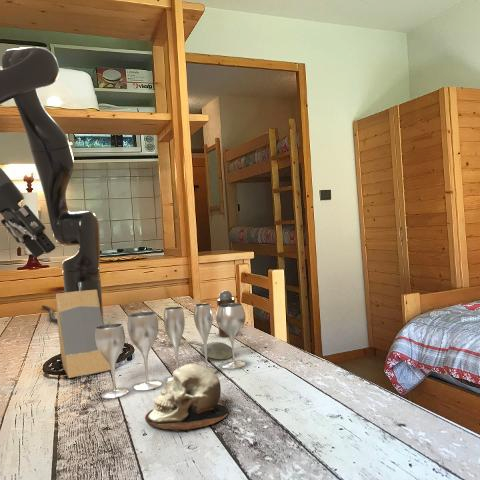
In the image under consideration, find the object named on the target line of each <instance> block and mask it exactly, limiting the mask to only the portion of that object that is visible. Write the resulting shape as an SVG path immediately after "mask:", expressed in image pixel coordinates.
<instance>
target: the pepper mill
mask: <svg viewBox="0 0 480 480" xmlns="http://www.w3.org/2000/svg"><path fill="white" fill-rule="evenodd" d="M228 303H236V298H235V297H233V294H232V292H231V291H229V290H226V289H225V290H222V291H220V293H219V294H218V299H216V308H217V309H218V306H219V305H222V304H228ZM217 309H216V310H217ZM218 335H219V337H222V338H227V337H228V338H229V336H228V335H227V334H226V333H225V332H224V331H223V330H222V329H220V328H219V327H218Z"/></svg>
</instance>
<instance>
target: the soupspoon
mask: <svg viewBox="0 0 480 480" xmlns="http://www.w3.org/2000/svg"><path fill="white" fill-rule="evenodd" d="M169 343H170V345H172V346H173V344H172V342H171V340H170V339H169ZM180 343H185V344H189V345H195V346H197V347H200V349H199V350H200V352H201V354H204V355H205V350H204V344H203V342H197V341H192V340H186V339H181V340H180ZM207 358H210V359H214V360H228V359H230V358H233V356H232V346H231V345H228V344H226V343H224V342H220V341H214V342H207Z"/></svg>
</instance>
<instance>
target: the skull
mask: <svg viewBox="0 0 480 480" xmlns="http://www.w3.org/2000/svg"><path fill="white" fill-rule="evenodd" d="M172 376H173V379H171V380H169V381H168V380H167V381H166V382H165V383H164V384H163V388H162V389H161V390H160V394H159V395H157V396H156V398H154V401H153V409H151V410H150V411H148V412H147V413H146V414H145V416H144V420H145V423H146V424H147V425H149V426H151V427H154V428H158V429H164V430H173V431H176V432H178V431H179V430H182V431H186V430H187V431H189V430H192V429H194V430H195V429H197V428H204V427H207V426H208V427H209V426H210V425H211V426H213V425H215V424H216V423H218V422H221V421H222V420H224V419H225V418H227V416H228V414H229V409H228V407H227V406H226V405H225V404H223V403H221V402H220V398H221V394H222V392H221V391H222V387H221V381H220V379H219V377H218V375H217V374H216V373H213V372H211V371H210V370H208V369H207V368H206V366H202V365H199V364H197V363H188V364H184V365H182V366H179V368H178V369H177V368H176V369H175V370H173V372H172Z"/></svg>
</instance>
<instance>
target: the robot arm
mask: <svg viewBox="0 0 480 480" xmlns="http://www.w3.org/2000/svg"><path fill="white" fill-rule="evenodd" d="M59 74H60V67H59V63H58V60H57V58H56V56H55V55H54V54H53V53H52V52H51V51H50V50H48V49H47V48H44V47H39V46H29V47H19V48H10V49H7V50H5V51H4V52H3V54H2V56H1V69H0V105H2V104H4V103H6V102H8V101H10V100H12V99H13V101H14V104H15V106H16V109H17V111H18V114H19V116H20V120H21V123H22V125H23V128H24V131H25V132H24V133H25V134H26V138H27V141H28V144H29V149H30V153H31V156H32V160H33V162H34V166H35V168H36V171H37V174H38V178H39V181H40V185H41V188H42V191H43V195H44V196H43V197H44V200H45V205H46V209H47V215H48V220H49V225H50V230H51V232H52V235H53V238H54V240H55V241H56V243H57V244H58V245H60V246H65V247H66V246H68V247H69V246H78V251H77V252H76V254H74V255H73V256H70V257H69V258H67V259H64V260H63V261H62V263H61V267H62V268H61V269H62V277H63V289H64V293H67V292H75V291H85V290H97V293H98V299H99V305H100V310H101V315H102V320H103V324H104V325H105V319H104V318H105V317H104V306H103V305H104V304H103V295H102V283H101V270H100V259H101V244H100V243H101V241H100V240H101V239H100V238H101V237H100V223H99V220H98V218H97V216H96V214H95V213H94V212H92V211H90V210H84V211H83V210H81V211H80V210H79V211H69V209H68V203H67V198H66V196H67V195H66V193H67V190H68V189H67V188H68V185H69V183H70V180H71V177H72V175H73V172H74V168H75V160H74V155H73V151H72V148H71V143H70V141H69V138H68V136H67V134H66V133H65V131H63V129H62V128H61V126H60V125H59V124H58V123H57V122H56V121H55V120H54V118H52V117H51V116H50V115H49V113H48V112H47V111H46V110H45V108H44V106H43V104H42V102H41V100H40V97H39V94H38V92H37V89H40V88H45V87H49V86H51V85H53V84H55V82H56V81H57V80H58V78H59ZM24 200H25V196H24V195H23V193H22V192H21V191H20V189H19V188H18V187H17V186H16V184H15V183H14V182H13V181H12V180H11V178H10V177H9V176H8V174H7V173H6V172H5V171H4V169H2V168H1V167H0V215H1V216H2V217H3V219H1V220H0V224H1V225H2V226H4V228H5V229H6V230H7V231H8V233H9V234H10V235H11V236H12V238H13V239H14V240H15V241H16V243H18V244H21V245H24V246H25V248H26V249H27V250H28V251H29V252H30V254H31V255H32V256H33V257H34V258H39V257H40V256H42V255H43V254H44V253H45V254H49V253H50V254H51V252H53V251H54V250H56V245H55V244H54V243H53V241H52V240H51V239H50V237H48V236H47V234H46V226H45V225H44V224H43V223H42V221H41V220H40V219H39V218H38V217H37V215H36V214H35V213H34V212H33V211H32V210H31V209H30V207H29V206H28V205H27V204H24V205H23V206H20V203H21V202H23V201H24ZM41 308H42V309H46V310H48V311H49V319H50V320H51V321H52V322H54V323H57V324H58V321H57V318H56V317H54V315H53V314H54V310H53V308H51V307H50V306H48V305H44V304H43V305H41Z"/></svg>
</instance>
